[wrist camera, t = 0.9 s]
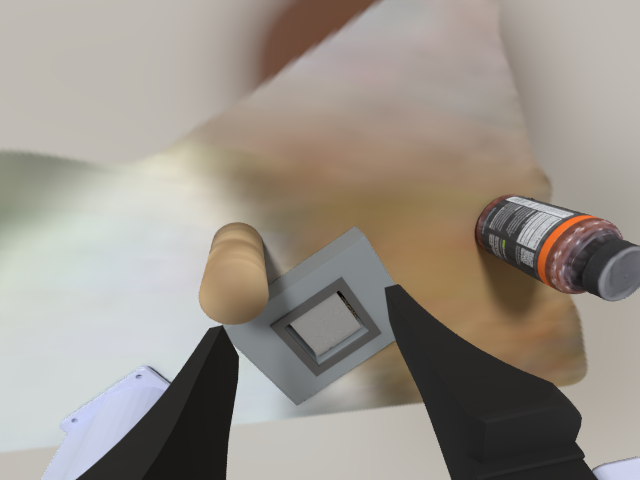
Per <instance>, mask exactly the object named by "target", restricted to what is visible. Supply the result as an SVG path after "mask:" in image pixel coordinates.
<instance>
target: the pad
mask: <svg viewBox="0 0 640 480" xmlns="http://www.w3.org/2000/svg"><path fill="white" fill-rule="evenodd" d="M290 325H291V326H292V327H293V328H294V329H295V330H296V331H297V332H298V334H299V335H300V336H301V337H302V338H303V339H304V340H305V342H306V343H307V344H308V345H309V346H310V347H311V348H312V349H313V351H314V352H315V353H316V354H317V355H318V356H320V355H322V354H323V353H325V352H326V351H328V350H329V349H331V348H332V347H334V346H335V345H337V344H338V343H340V342H341V341H343V340H344V339H346V338H347V337H349V336H350V335H352V334H353V333H355V332H356V331H358V330H359V329H361V328H362V326H361V325H360V323H359V322H358V320H357V319H356V318H355V316H354V315H353V313H352V312H351V311H350V309H349V308H348V307H347V305H346V304H345V303H344V301H343V300H342V299H341V297H340V296H339V295H338V293H337V292H336V293H335V294H333V295H332V296H330V297H329V298H327V299H326V300H324V301H323V302H321V303H320V304H318V305H317V306H315V307H314V308H312V309H311V310H309V311H308V312H306V313H305V314H303V315H302V316H301V317H299V318H298V319H296V320H295V321H293V322H292V323H290Z"/></svg>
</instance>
